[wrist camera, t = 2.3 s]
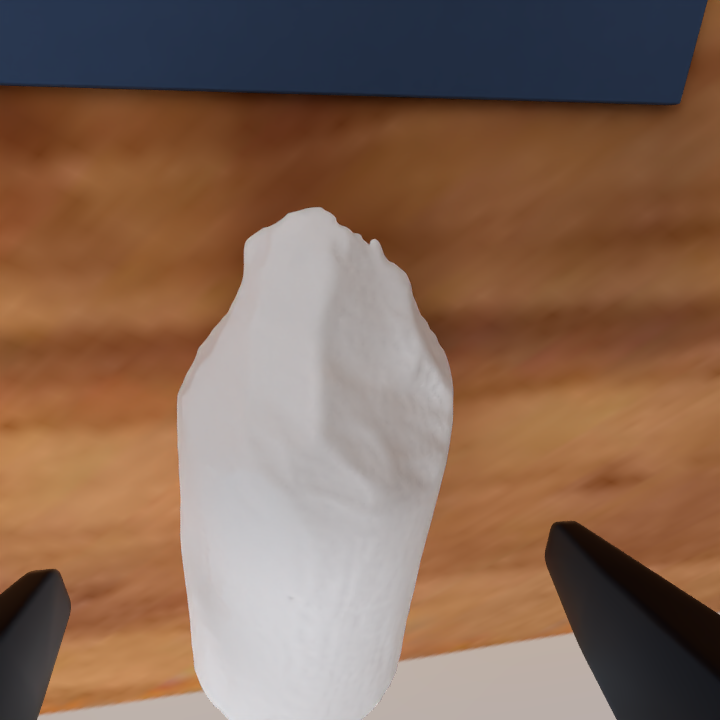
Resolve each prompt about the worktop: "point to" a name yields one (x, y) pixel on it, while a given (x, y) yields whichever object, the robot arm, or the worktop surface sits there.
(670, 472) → the worktop surface
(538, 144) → the worktop surface
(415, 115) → the worktop surface
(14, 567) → the worktop surface
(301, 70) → the cloth
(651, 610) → the robot arm
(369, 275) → the white tapered cylinder
